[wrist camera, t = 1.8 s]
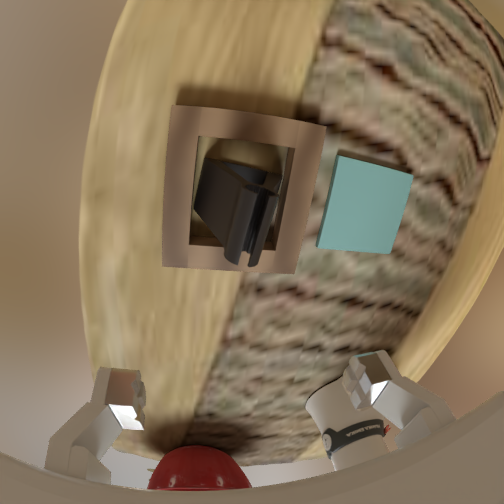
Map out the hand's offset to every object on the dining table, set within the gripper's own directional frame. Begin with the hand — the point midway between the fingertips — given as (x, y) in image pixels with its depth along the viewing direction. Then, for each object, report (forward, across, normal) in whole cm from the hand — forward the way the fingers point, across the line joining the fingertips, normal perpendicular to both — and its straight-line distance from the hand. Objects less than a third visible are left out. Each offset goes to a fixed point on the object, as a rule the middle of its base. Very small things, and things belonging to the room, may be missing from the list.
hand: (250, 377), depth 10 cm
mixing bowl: (+24, -5, -70) cm, 74 cm away
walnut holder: (+25, +2, 0) cm, 25 cm away
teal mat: (+24, +20, -2) cm, 31 cm away
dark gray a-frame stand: (+25, +2, 0) cm, 25 cm away
